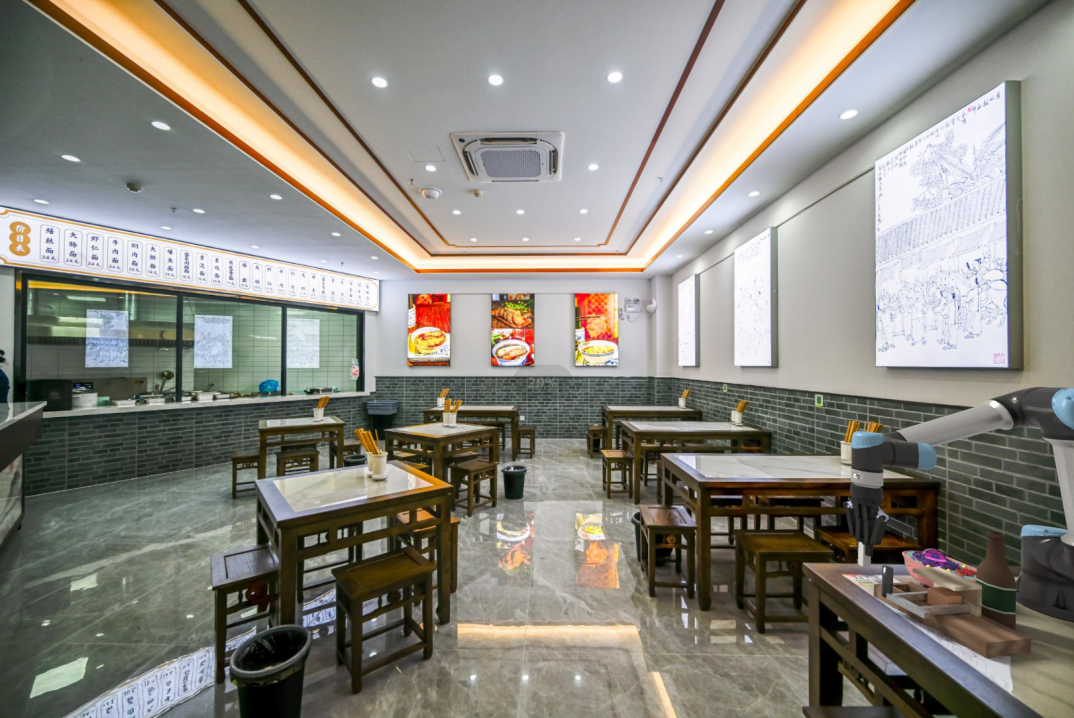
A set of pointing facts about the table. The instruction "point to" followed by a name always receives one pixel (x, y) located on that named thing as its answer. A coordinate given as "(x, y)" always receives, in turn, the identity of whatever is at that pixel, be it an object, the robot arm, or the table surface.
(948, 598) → the block
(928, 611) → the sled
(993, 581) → the beer bottle
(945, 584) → the tunnel
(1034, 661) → the table surface
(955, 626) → the base
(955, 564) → the cell model
